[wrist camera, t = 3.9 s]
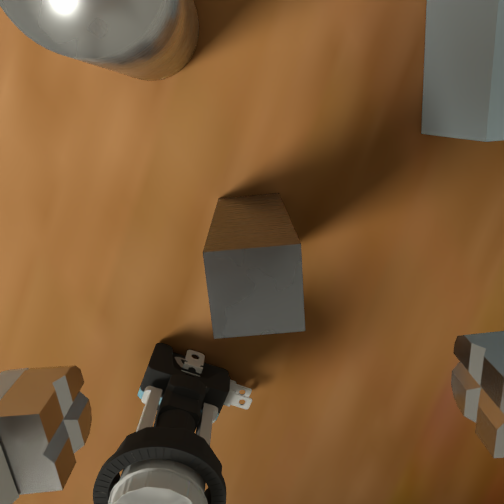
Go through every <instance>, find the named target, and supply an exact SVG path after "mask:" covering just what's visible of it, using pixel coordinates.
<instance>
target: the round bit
mask: <svg viewBox="0 0 504 504" xmlns="http://www.w3.org/2000/svg"><path fill="white" fill-rule="evenodd" d="M0 6H1V8H2V9H3V10H4V12H5V13H6V15H7V16H8V17H9V18H10V20H11V21H12V22H13V23H14V24H15V25H16V26H17V27H18V28H19V29H20V30H21V31H22V32H23V33H24V34H25V35H26V36H28V37H29V38H30V39H32V40H33V41H35V42H36V43H37V44H39V45H41V46H43V47H45V48H46V49H48V50H51V51H53V52H56V53H58V54H61V55H64V56H67V57H70V58H74V59H77V60H80V61H83V62H86V63H89V64H93V65H96V66H99V67H102V68H105V69H108V70H112V71H115V72H118V73H121V74H124V75H127V76H131V77H134V78H137V79H141V80H147V81H156V80H162V79H165V78H168V77H170V76H172V75H174V74H176V73H177V72H179V71H180V70H181V69H182V68H183V67H184V66H185V65H186V64H187V63H188V62H189V60H190V58H191V57H192V55H193V53H194V51H195V48H196V45H197V42H198V36H199V19H198V13H197V10H196V6H195V4H194V1H193V0H0Z"/></svg>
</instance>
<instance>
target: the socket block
mask: <svg viewBox="0 0 504 504" xmlns="http://www.w3.org/2000/svg"><path fill="white" fill-rule="evenodd" d="M421 134H428V135H436V136H444V137H452V138H460V139H468V140H476V141H484V142H489V141H500V140H504V0H427V9H426V33H425V56H424V80H423V104H422V128H421Z"/></svg>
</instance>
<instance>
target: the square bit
mask: <svg viewBox="0 0 504 504" xmlns="http://www.w3.org/2000/svg"><path fill="white" fill-rule="evenodd" d="M203 258H204V266H205V273H206V281H207V289H208V297H209V304H210V312H211V320H212V328H213V336H214V339H218V338H229V337H241V336H253V335H265V334H277V333H289V332H300V331H305V316H304V296H303V276H302V256H301V243H300V241H299V238H298V236H297V234H296V231H295V229H294V227H293V224H292V222H291V220H290V218H289V215H288V213H287V211H286V208H285V206H284V204H283V201H282V199H281V197H280V195H279V193H275V194H263V195H252V196H240V197H229V198H219V199H218V202H217V205H216V209H215V212H214V216H213V219H212V223H211V226H210V229H209V233H208V236H207V240H206V243H205V246H204V250H203Z"/></svg>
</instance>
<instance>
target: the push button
mask: <svg viewBox="0 0 504 504" xmlns="http://www.w3.org/2000/svg"><path fill="white" fill-rule="evenodd" d="M191 355H196V356H198V357H199V359H194V358H192V356H191ZM204 358H205V356H204V355H203V354H202V353H199V352H196V351H193V350H187V353H186V357H185V356H182V355H179V354H176V353H173V350H172V347H171V346H169V345H166V344H163V343H157V344H156V346H155V348H154V351H153V354H152V356H151V359H150V362H149V364H148V367H147V370H146V372H145V375H144V378H143V381H142V383H141V386H140V389H139V392H138V397H139V398H140V399H142V402H143V403H144V404H145V406H144V409H143V412H142V415H141V418H140V421H139V424H138V427H137V430H136V432H134V433H132V434H130V435H128V436H127V437H126V438H125V440H124V441H123V442H122V444H121V445H120V447H119V448H118V450H117V451H116V452H115V454H113V455H112V456H111V457H110V458H109V459H108V460H107V461H106V462H105V463H104V465H103V466H102V468H101V470H100V472H99V474H98V476H97V479H96V481H95V484H94V489H93V501H94V504H226V485H225V481H224V478H223V476H222V474H221V473H222V465H221V463H220V461H219V460H218V458H217V457H216V455H215V454H214V452H213V451H212V449H211V448H210V439H211V429H212V423H214V422H215V421H216V419H217V417H218V415H219V413H220V411H221V409H222V406H223V405H226V406H229V407H230V405H234V406H237V407H240V408H243V409H248V408H249V406H250V404H251V402H252V399H251V398H249V396H250V394H251V391H252V389H251V388H248V387H245V386H242V385H238V384H236V381H233V380H230V377H229V373H228V371H227V370H225V369H222V368H219V367H216V366H213V365H210V364H207V363H204ZM240 390H245V391H246V392H245V394H240V393H239V391H240ZM241 399H244V400H245V401H246V402H245V404H240V403H239V400H241ZM157 410H158V411H157ZM156 411H157V414H156ZM155 415H156V418H155ZM154 418H155V424H154V427H152V425H153V421H154ZM196 427H197V429H196ZM195 429H196V434H195V433H194V432H195ZM121 470H123V472H122V474H121V477H120V475H119V472H120V471H121ZM205 483H207V485H208V489H207V490H206V491H205ZM204 491H205V492H204Z"/></svg>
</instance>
